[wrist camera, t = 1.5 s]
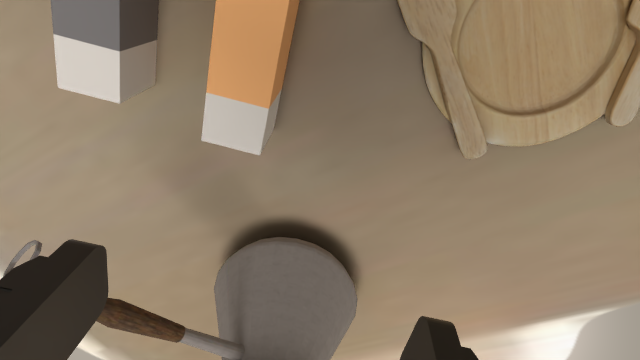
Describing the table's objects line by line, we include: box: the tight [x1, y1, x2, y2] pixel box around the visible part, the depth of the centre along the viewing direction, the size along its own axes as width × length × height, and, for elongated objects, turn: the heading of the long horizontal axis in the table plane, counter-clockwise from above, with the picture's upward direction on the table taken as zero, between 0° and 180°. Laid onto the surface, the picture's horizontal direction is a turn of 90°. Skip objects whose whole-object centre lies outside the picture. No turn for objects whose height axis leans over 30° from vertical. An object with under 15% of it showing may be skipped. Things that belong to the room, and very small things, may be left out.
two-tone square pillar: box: [51, 0, 159, 104], centre depth 22 cm, size 9×4×4 cm, turn 166°
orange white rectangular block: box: [201, 0, 300, 155], centre depth 23 cm, size 9×4×4 cm, turn 166°
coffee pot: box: [3, 237, 357, 360], centre depth 25 cm, size 21×12×15 cm, turn 35°
